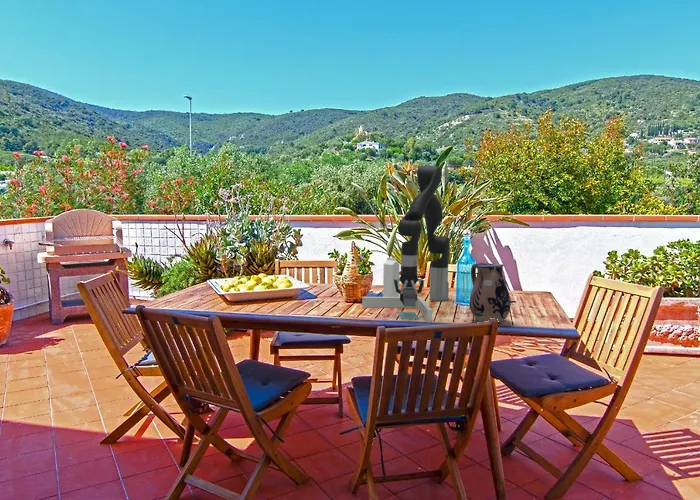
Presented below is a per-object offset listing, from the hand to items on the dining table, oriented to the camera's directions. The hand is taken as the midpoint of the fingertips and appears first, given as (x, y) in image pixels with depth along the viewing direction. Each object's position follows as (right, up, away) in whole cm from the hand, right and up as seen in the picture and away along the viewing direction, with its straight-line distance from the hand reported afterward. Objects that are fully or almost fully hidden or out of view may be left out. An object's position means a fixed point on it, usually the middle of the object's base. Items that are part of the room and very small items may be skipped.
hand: (408, 301), depth 249 cm
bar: (0, -1, 0) cm, 1 cm away
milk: (-5, -3, +38) cm, 39 cm away
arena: (-6, -6, +5) cm, 9 cm away
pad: (0, -6, +1) cm, 6 cm away
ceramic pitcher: (+33, -8, -8) cm, 35 cm away
